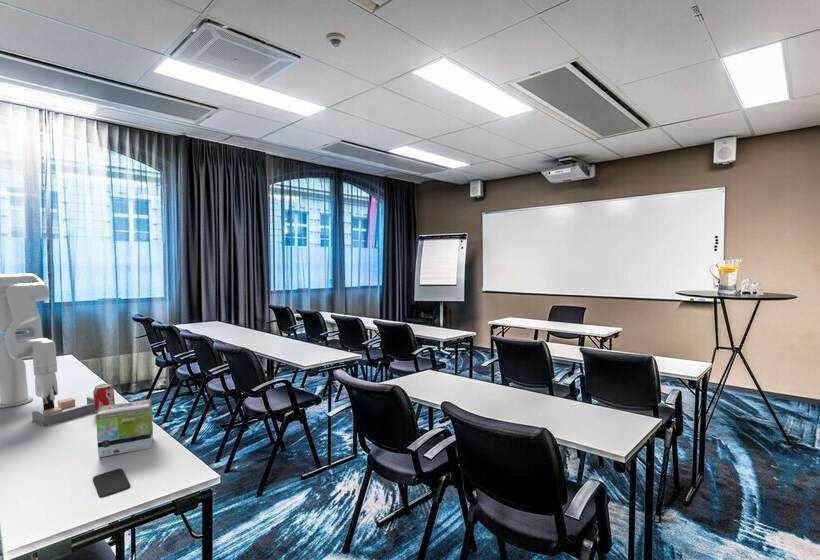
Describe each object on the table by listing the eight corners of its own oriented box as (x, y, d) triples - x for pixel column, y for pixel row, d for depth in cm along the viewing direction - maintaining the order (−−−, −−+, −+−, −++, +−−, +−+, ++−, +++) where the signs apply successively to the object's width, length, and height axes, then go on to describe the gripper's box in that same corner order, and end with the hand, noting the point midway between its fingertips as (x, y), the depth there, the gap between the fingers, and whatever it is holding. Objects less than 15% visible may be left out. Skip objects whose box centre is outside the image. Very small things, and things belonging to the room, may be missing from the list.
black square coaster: (99, 497, 115) (92, 476, 126) (99, 500, 115) (92, 479, 126) (131, 486, 120) (121, 467, 131) (131, 489, 120) (121, 470, 131)
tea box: (98, 459, 138) (94, 415, 137) (103, 447, 147) (100, 405, 146) (151, 448, 145) (148, 406, 144) (154, 437, 154) (151, 397, 153)
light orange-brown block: (43, 417, 178) (42, 410, 178) (58, 413, 182) (57, 406, 182) (47, 419, 175) (47, 412, 175) (62, 415, 179) (62, 408, 179)
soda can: (104, 417, 176) (102, 388, 175) (90, 416, 177) (88, 388, 176) (119, 410, 183) (117, 383, 182) (105, 410, 184) (103, 382, 183)
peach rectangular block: (58, 407, 190) (57, 400, 190) (71, 403, 194) (71, 397, 194) (61, 409, 187) (60, 402, 187) (75, 406, 191) (74, 399, 191)
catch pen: (32, 420, 175) (31, 411, 174) (90, 404, 192) (89, 396, 192) (45, 425, 168) (44, 417, 168) (103, 409, 185) (102, 401, 185)
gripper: (27, 369, 180) (31, 411, 182) (41, 374, 173) (45, 418, 174) (49, 365, 187) (53, 406, 188) (63, 369, 179) (67, 411, 180)
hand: (49, 411), depth 181 cm, fingers closed
